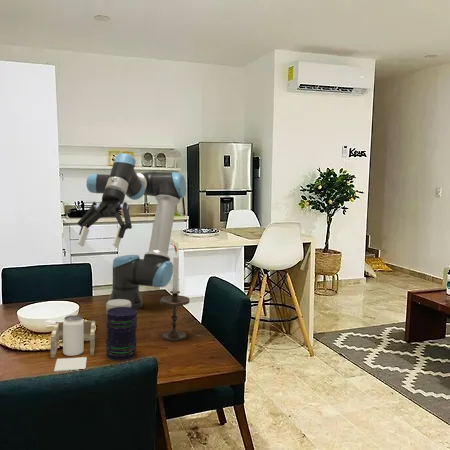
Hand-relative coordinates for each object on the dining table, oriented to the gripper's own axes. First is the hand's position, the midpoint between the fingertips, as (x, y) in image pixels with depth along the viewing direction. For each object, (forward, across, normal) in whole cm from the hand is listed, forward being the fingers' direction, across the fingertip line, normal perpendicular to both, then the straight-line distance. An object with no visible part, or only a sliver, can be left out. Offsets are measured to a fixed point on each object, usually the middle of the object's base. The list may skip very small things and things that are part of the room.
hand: (97, 245), depth 154 cm
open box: (+31, -8, +16) cm, 36 cm away
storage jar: (+32, +10, +18) cm, 37 cm away
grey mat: (+38, 0, +6) cm, 39 cm away
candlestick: (+19, +18, +37) cm, 45 cm away
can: (+34, -6, +13) cm, 37 cm away
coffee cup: (+21, -2, +32) cm, 38 cm away
